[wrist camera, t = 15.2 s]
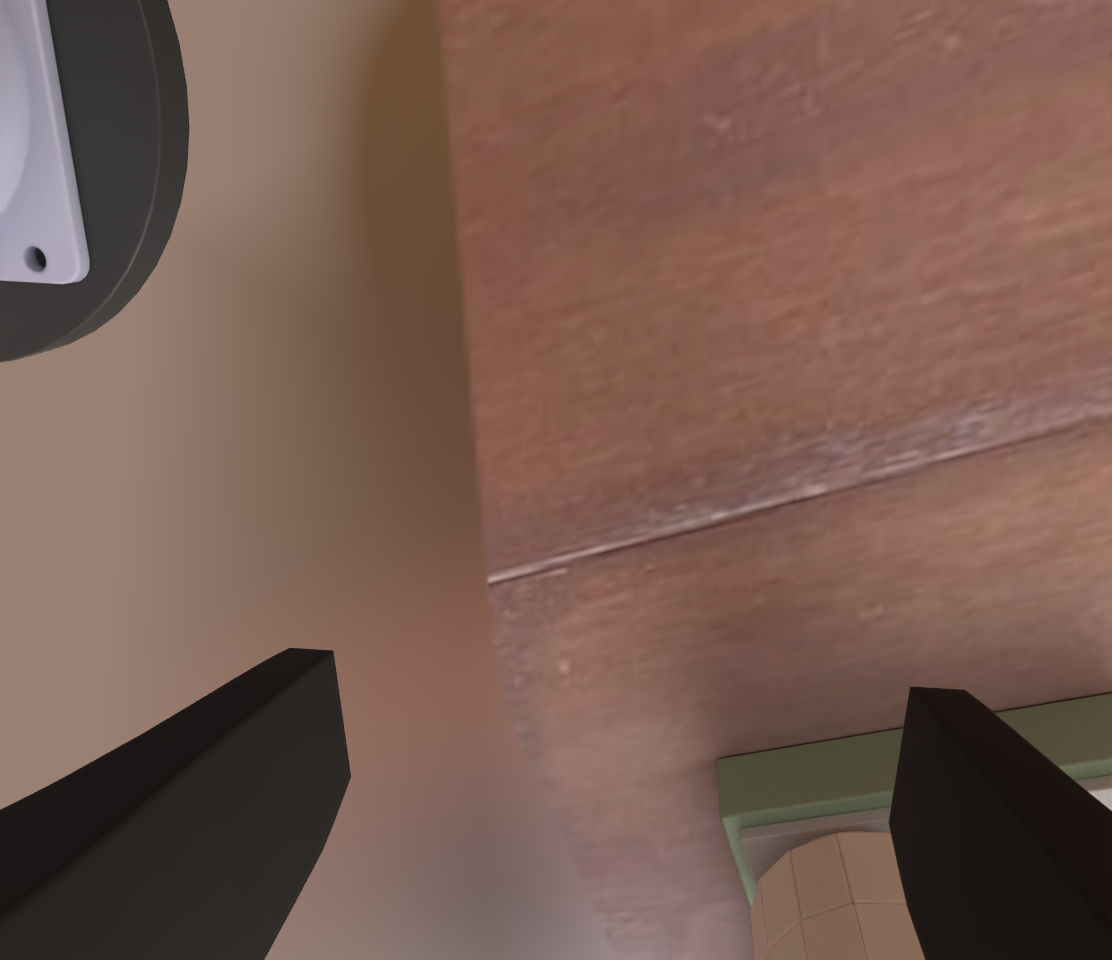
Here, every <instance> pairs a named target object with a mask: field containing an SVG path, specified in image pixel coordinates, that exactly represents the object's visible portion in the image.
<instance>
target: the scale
mask: <svg viewBox="0 0 1112 960" xmlns="http://www.w3.org/2000/svg"><path fill="white" fill-rule="evenodd" d="M995 714H996V715H997V716H998V717H999V718H1001V719H1002V720H1003V721H1004V722H1005V723H1007V724H1008V725H1009V726H1010V727H1011V728H1013V729H1014V730H1015V731H1016V732H1017V733H1018V734H1020V735H1021V736H1022V737H1023V738H1024V739H1026V740H1027V741H1028V742H1029V743H1030V744H1031V745H1033V746H1034V747H1035V748H1036V749H1037V750H1039V751H1040V752H1041V753H1042V754H1043V755H1045V756H1046V757H1047V758H1048V759H1049V760H1050V761H1052V762H1053V763H1054V764H1055V765H1056V766H1058V767H1059V768H1060V769H1061V770H1062V771H1064V772H1065V773H1066V774H1067V775H1068V776H1070V777H1071V778H1072V779H1073V780H1074V781H1076V782H1077V783H1078V784H1079V785H1080V786H1082V787H1083V788H1084V789H1085V790H1087V791H1088V792H1089V793H1090V794H1092V795H1093V796H1094V797H1095V798H1096V799H1098V800H1099V801H1100V802H1101V803H1103V804H1104V805H1105V806H1106V807H1108V808H1109V809H1110V810H1111V811H1112V693H1111V694H1105V695H1099V696H1093V697H1087V698H1081V699H1075V700H1069V701H1063V702H1057V703H1051V704H1045V705H1039V706H1033V707H1027V708H1021V709H1015V710H1009V711H1003V712H997V713H995ZM903 729H904V728H901V729H895V730H889V731H883V732H877V733H871V734H865V735H859V736H853V737H848V738H842V739H836V740H830V741H824V742H818V743H812V744H806V745H800V746H794V747H788V748H782V749H776V750H770V751H764V752H758V753H752V754H746V755H740V756H734V757H728V758H722V759H718V760H717V777H718V791H719V806H720V818H721V822H722V825H723V828H724V831H725V834H726V837H727V840H728V843H729V846H730V849H731V852H732V855H733V858H734V862H735V865H736V868H737V871H738V874H739V877H740V880H741V883H742V886H743V889H744V892H745V895H746V899H747V902H748V905H749V908H750V911H751V908H752V904H753V900H754V896H755V892H756V888H757V883H758V880H759V879H760V878H761V876H762V875H763V874H764V873H765V872H767V871H768V870H769V869H770V868H771V867H772V866H773V865H774V864H775V863H776V862H777V861H778V860H779V859H780V858H781V857H782V856H783V855H784V854H785V853H786V852H787V851H788V850H790V851H791V850H792V849H793V848H796V847H798V846H801V845H803V844H805V843H807V842H809V841H811V840H813V839H815V838H818V837H821V836H824V835H828V834H832V833H837V832H844V831H873V832H888V833H889V834H890V833H891V832H890V827H889V817H890V810H891V804H892V798H893V792H894V785H895V779H896V773H897V767H898V760H899V754H900V748H901V741H902V735H903Z"/></svg>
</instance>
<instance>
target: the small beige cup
mask: <svg viewBox="0 0 1112 960" xmlns="http://www.w3.org/2000/svg"><path fill="white" fill-rule="evenodd" d="M750 917H751V928H752V938H753V948H754V958H755V960H925V957H924V955H923V952H922V949H921V946H920V943H919V940H918V937H917V935H916V932H915V929H914V926H913V923H912V920H911V917H910V914H909V911H908V908H907V904H906V900H905V895H904V891H903V887H902V883H901V878H900V874H899V870H898V865H897V860H896V856H895V851H894V846H893V841H892V837H891V833H890V834H889V833H888V832H873V831H844V832H837V833H832V834H828V835H824V836H821V837H818V838H815V839H813V840H811V841H809V842H807V843H805V844H803V845H801V846H798V847H796V848H793V849H792V850H791V851H790V850H788V851H787V852H786V853H785V854H784V855H783V856H782V857H781V858H780V859H779V860H778V861H777V862H776V863H775V864H774V865H773V866H772V867H771V868H770V869H769V870H768V871H767V872H765V873H764V874H763V875H762V876H761V878H760V879H759V880H758V883H757V888H756V892H755V896H754V900H753V904H752V908H751V912H750Z"/></svg>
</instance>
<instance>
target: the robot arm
mask: <svg viewBox="0 0 1112 960" xmlns="http://www.w3.org/2000/svg"><path fill="white" fill-rule="evenodd" d="M38 249H40V250H41V251H42V252H43V253H44V255H45V258H46V267H45V268H44V267H43V266H42V265H41V264H40V262H39V260H38V257H37V250H38ZM89 263H90V260H89V254H88V248H87V242H86V236H85V230H84V224H83V218H82V212H81V206H80V200H79V194H78V189H77V183H76V177H75V171H74V165H73V159H72V153H71V147H70V141H69V135H68V129H67V123H66V117H65V111H64V106H63V100H62V94H61V88H60V82H59V76H58V70H57V64H56V58H55V52H54V46H53V40H52V34H51V28H50V22H49V17H48V11H47V5H46V0H0V280H2V281H18V282H35V283H51V284H66V283H72V282H78V281H81V280H82V279H84V278H85V277H86V276H87V273H88V271H89ZM350 778H351V773H350V766H349V760H348V752H347V745H346V738H345V732H344V724H343V716H342V710H341V702H340V695H339V688H338V681H337V674H336V667H335V660H334V652H333V651H331V650H330V651H329V650H316V649H315V650H314V649H299V648H289V649H287V650H285V651H283V652H281V653H279V654H277V655H275V656H273V657H271V658H269V659H267V660H265V661H264V662H262V663H260V664H258V665H257V666H255V667H253V668H252V669H250V670H248V671H247V672H245V673H243V674H241V675H240V676H238V677H236V678H235V679H233V680H231V681H230V682H228V683H226V684H225V685H223V686H221V687H220V688H218V689H216V690H215V691H213V692H212V693H210V694H208V695H207V696H205V697H203V698H202V699H200V700H198V701H197V702H195V703H193V704H192V705H190V706H188V707H187V708H185V709H183V710H182V711H180V712H178V713H177V714H175V715H173V716H171V717H170V718H168V719H166V720H165V721H163V722H161V723H160V724H158V725H156V726H155V727H153V728H151V729H150V730H148V731H146V732H145V733H143V734H141V735H140V736H138V737H136V738H134V739H132V740H130V741H129V742H127V743H125V744H123V745H121V746H120V747H118V748H116V749H114V750H113V751H111V752H109V753H107V754H105V755H103V756H102V757H100V758H98V759H96V760H94V761H93V762H91V763H89V764H87V765H85V766H84V767H82V768H80V769H78V770H76V771H75V772H73V773H71V774H69V775H67V776H66V777H64V778H62V779H60V780H58V781H56V782H54V783H53V784H51V785H49V786H47V787H45V788H43V789H41V790H39V791H37V792H35V793H33V794H31V795H29V796H27V797H25V798H23V799H21V800H19V801H17V802H15V803H13V804H11V805H9V806H7V807H5V808H3V809H1V810H0V960H264V959H265V957H266V955H267V954H268V952H269V950H270V948H271V946H272V944H273V943H274V941H275V939H276V937H277V935H278V933H279V932H280V930H281V928H282V926H283V924H284V922H285V920H286V919H287V917H288V915H289V913H290V911H291V909H292V908H293V906H294V904H295V902H296V900H297V898H298V896H299V894H300V892H301V891H302V889H303V887H304V884H305V883H306V881H307V879H308V877H309V876H310V874H311V872H312V870H313V868H314V866H315V864H316V862H317V860H318V858H319V856H320V854H321V853H322V851H323V848H324V846H325V843H326V841H327V838H328V836H329V833H330V831H331V828H332V826H333V824H334V821H335V819H336V816H337V813H338V811H339V808H340V805H341V802H342V800H343V797H344V794H345V792H346V789H347V786H348V783H349V781H350ZM889 827H890V832H891V837H892V841H893V846H894V851H895V856H896V860H897V865H898V870H899V874H900V878H901V883H902V887H903V891H904V895H905V900H906V904H907V908H908V911H909V914H910V917H911V920H912V923H913V926H914V929H915V932H916V935H917V937H918V940H919V943H920V946H921V949H922V952H923V955H924V957H925V960H1112V811H1111V810H1110V809H1109V808H1108V807H1106V806H1105V805H1104V804H1103V803H1101V802H1100V801H1099V800H1098V799H1096V798H1095V797H1094V796H1093V795H1092V794H1090V793H1089V792H1088V791H1087V790H1085V789H1084V788H1083V787H1082V786H1080V785H1079V784H1078V783H1077V782H1076V781H1074V780H1073V779H1072V778H1071V777H1070V776H1068V775H1067V774H1066V773H1065V772H1064V771H1062V770H1061V769H1060V768H1059V767H1058V766H1056V765H1055V764H1054V763H1053V762H1052V761H1050V760H1049V759H1048V758H1047V757H1046V756H1045V755H1043V754H1042V753H1041V752H1040V751H1039V750H1037V749H1036V748H1035V747H1034V746H1033V745H1031V744H1030V743H1029V742H1028V741H1027V740H1026V739H1024V738H1023V737H1022V736H1021V735H1020V734H1018V733H1017V732H1016V731H1015V730H1014V729H1013V728H1011V727H1010V726H1009V725H1008V724H1007V723H1005V722H1004V721H1003V720H1002V719H1001V718H999V717H998V716H997V715H996V714H995V713H993V712H992V711H991V710H990V709H989V708H987V707H986V706H985V705H984V704H982V703H981V702H980V701H979V700H977V699H976V698H975V697H974V696H972V695H971V694H970V693H968V692H967V691H966V690H958V689H942V688H926V687H910V691H909V697H908V704H907V710H906V716H905V723H904V729H903V735H902V741H901V748H900V754H899V760H898V767H897V773H896V779H895V785H894V792H893V798H892V804H891V810H890V817H889Z"/></svg>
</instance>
